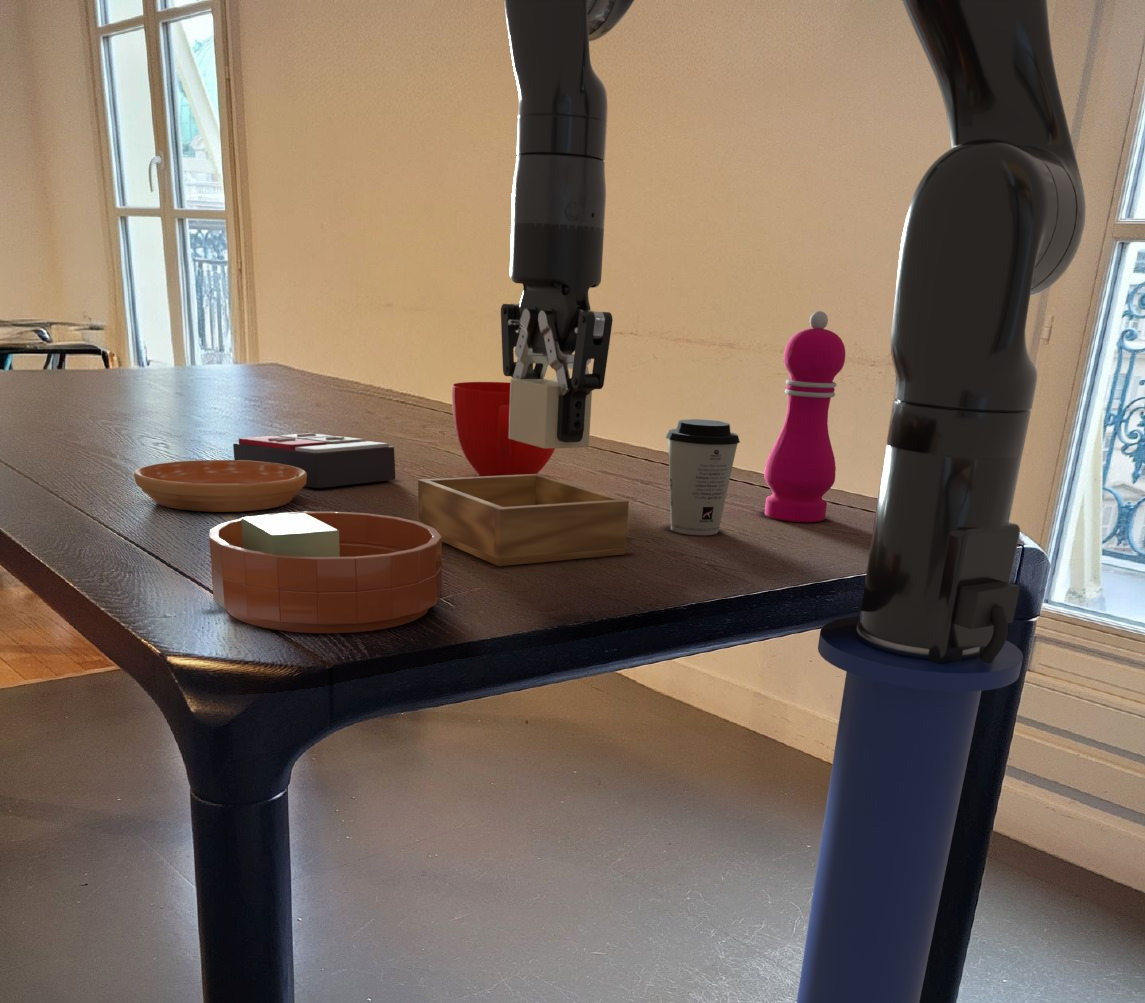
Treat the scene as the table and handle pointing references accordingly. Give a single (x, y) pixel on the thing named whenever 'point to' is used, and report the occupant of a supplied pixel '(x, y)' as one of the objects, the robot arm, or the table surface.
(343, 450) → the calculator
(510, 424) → the block
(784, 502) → the pepper mill
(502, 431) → the ceramic cup
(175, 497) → the saucer
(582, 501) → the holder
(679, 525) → the coffee cup
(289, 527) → the packet
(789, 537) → the table surface
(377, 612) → the bowl
